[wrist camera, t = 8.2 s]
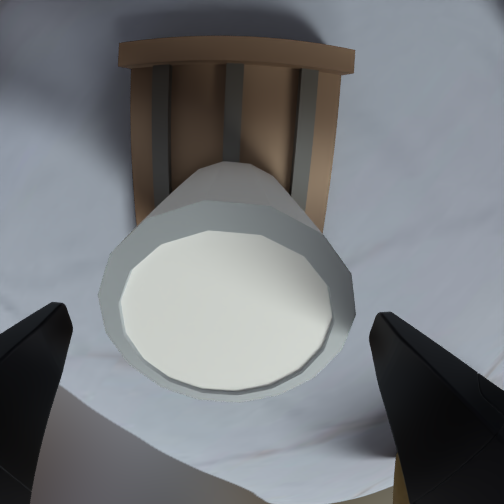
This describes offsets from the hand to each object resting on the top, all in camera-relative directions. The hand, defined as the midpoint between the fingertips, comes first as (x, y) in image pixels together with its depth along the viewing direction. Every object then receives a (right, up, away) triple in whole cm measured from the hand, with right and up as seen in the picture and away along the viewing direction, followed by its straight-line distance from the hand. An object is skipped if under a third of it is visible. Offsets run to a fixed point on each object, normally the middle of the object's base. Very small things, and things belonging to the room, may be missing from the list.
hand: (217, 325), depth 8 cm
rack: (0, +4, +7) cm, 8 cm away
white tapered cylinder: (0, +3, +6) cm, 7 cm away
